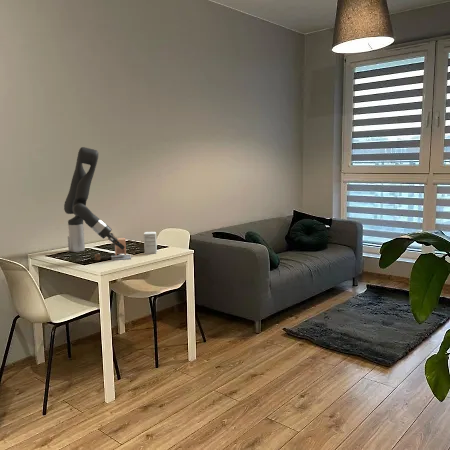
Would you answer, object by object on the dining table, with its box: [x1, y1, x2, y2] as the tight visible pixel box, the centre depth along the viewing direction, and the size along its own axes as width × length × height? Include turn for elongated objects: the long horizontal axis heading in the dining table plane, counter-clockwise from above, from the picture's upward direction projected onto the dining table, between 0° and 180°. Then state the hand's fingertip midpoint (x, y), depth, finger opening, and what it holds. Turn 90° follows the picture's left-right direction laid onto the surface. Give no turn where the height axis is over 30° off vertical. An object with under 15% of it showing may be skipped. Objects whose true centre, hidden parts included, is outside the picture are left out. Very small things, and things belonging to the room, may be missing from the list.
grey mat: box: [110, 254, 132, 262], centre depth 270 cm, size 11×11×1 cm
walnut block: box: [94, 253, 102, 261], centre depth 266 cm, size 3×3×3 cm
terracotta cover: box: [114, 237, 127, 256], centre depth 269 cm, size 6×6×10 cm
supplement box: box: [143, 231, 158, 255], centre depth 283 cm, size 7×7×13 cm
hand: (123, 247), depth 269 cm, fingers closed on terracotta cover, 6 cm apart
